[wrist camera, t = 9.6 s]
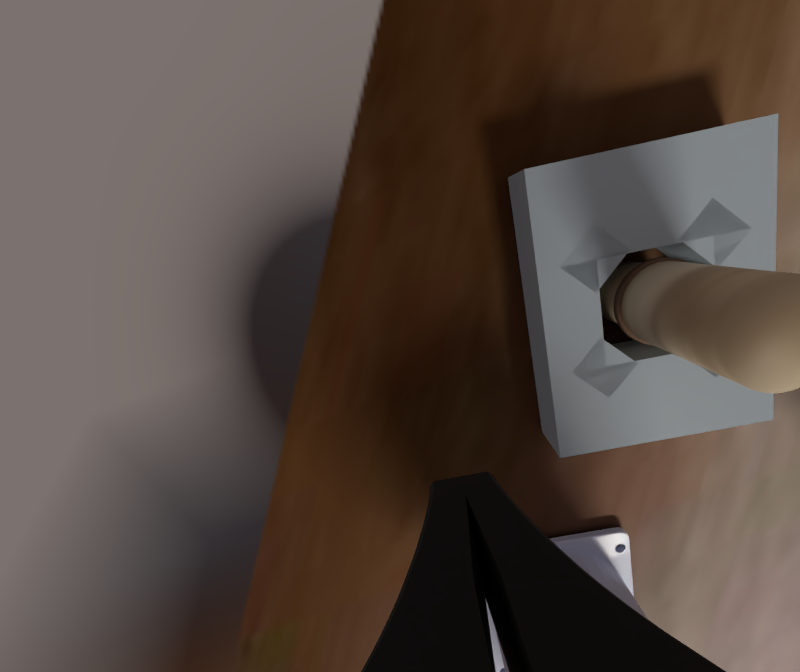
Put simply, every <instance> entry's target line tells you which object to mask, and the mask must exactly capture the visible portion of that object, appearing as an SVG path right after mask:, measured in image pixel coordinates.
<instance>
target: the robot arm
mask: <svg viewBox="0 0 800 672" xmlns="http://www.w3.org/2000/svg"><path fill="white" fill-rule="evenodd" d="M619 544H621V545H620V546H618V547H616V546H617V545H619ZM361 672H726V671H724V670H722V669H721V668H719V667H718V666H716V665H715V664H713V663H712V662H710V661H709V660H707V659H706V658H704V657H703V656H701V655H700V654H698V653H697V652H695V651H693V650H692V649H690V648H689V647H687V646H686V645H684V644H683V643H681V642H680V641H678V640H677V639H675V638H674V637H672V636H671V635H669V634H668V633H666V632H665V631H663V630H662V629H660V628H659V627H657V626H656V625H655V624H653V623H652V622H651V621H649V620H648V619H647V617H646V616H645V614H644V613H643V611H642V609H641V608H640V606H639V605H638V603H637V601H636V600H635V598H634V591H633V579H632V567H631V555H630V543H629V536H628V534H627V533H626V532H625V530H624V529H623V528H620V527H614V528H609V529H603V530H597V531H591V532H585V533H579V534H573V535H567V536H561V537H555V538H548V537H547V536H546V535H545V534H544V533H543V532H542V531H541V530H540V529H539V528H538V527H537V526H536V525H535V524H534V523H533V522H532V521H531V520H530V519H529V518H528V517H527V516H526V515H525V514H524V513H523V512H522V510H521V509H520V508H519V507H518V506H517V505H516V504H515V503H514V502H513V500H512V499H511V498H510V497H509V496H508V495H507V493H506V492H505V491H504V490H503V489H502V487H501V486H500V485H499V483H498V482H497V481H496V479H495V478H494V476H493V475H491V474H490V473H488V472H483V473H478V474H472V475H467V476H461V477H456V478H450V479H445V480H439V481H434V482H433V484H432V485H431V486H430V496H429V502H428V508H427V512H426V516H425V520H424V524H423V528H422V531H421V534H420V538H419V541H418V544H417V548H416V551H415V554H414V557H413V560H412V562H411V565H410V568H409V570H408V573H407V576H406V578H405V581H404V584H403V586H402V589H401V591H400V594H399V596H398V598H397V601H396V603H395V605H394V608H393V610H392V612H391V614H390V617H389V619H388V621H387V623H386V625H385V627H384V629H383V631H382V633H381V635H380V637H379V639H378V641H377V643H376V645H375V647H374V649H373V651H372V653H371V655H370V657H369V658H368V660H367V662H366V664H365V666H364V668H363V670H362V671H361Z"/></svg>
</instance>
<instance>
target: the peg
mask: <svg viewBox="0 0 800 672" xmlns="http://www.w3.org/2000/svg"><path fill="white" fill-rule="evenodd" d="M599 291H600V302H601V313H602V316H603V317H604V318H606V319H607V320H609V321H612V322H614V323H616V324H618V325H619V327H620V328H621V330H622V331H623V332H624V333H625V334H626V335H628V336H629V337H631V338H632V339H634V340H636V341H639V342H641V343H644V344H647V345H654V346H656V347H658V348H661V349H663V350H665V351H667V352H670V353H672V354H674V355H676V356H678V357H681V358H683V359H685V360H687V361H690V362H692V363H694V364H696V365H698V366H701V367H703V368H705V369H707V370H710V371H712V372H714V373H716V374H719V375H721V376H723V377H725V378H727V379H730V380H732V381H734V382H736V383H739V384H741V385H743V386H745V387H747V388H750V389H752V390H755V391H758V392H763V393H783V392H788V391H792V390H795V389H798V388H800V274H794V273H785V272H775V271H766V270H756V269H747V268H737V267H727V266H718V265H708V264H699V263H689V262H687V261H685V260H681V259H676V258H667V257H661V258H654V259H650V260H647V261H645V262H643V263H642V262H634V261H624V262H620V263H619V264H618V266H617V267H616V268H615V270H614V271H613V272H612V273H611V275H610V276H609V277H608V279H607V280H606V281H605V282H604V284H603V285H602V286H601V288H600V289H599Z"/></svg>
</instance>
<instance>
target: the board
mask: <svg viewBox="0 0 800 672" xmlns="http://www.w3.org/2000/svg"><path fill="white" fill-rule="evenodd" d="M777 156H778V114H774V115H769V116H765V117H760V118H756V119H751V120H746V121H742V122H737V123H733V124H728V125H724V126H719V127H714V128H710V129H705V130H701V131H696V132H692V133H687V134H683V135H678V136H673V137H669V138H664V139H660V140H655V141H651V142H646V143H641V144H637V145H632V146H628V147H623V148H619V149H614V150H609V151H605V152H600V153H596V154H591V155H587V156H582V157H577V158H573V159H568V160H564V161H559V162H555V163H550V164H546V165H541V166H536V167H532V168H527V169H524V170H522V171H520V172H518V173H516V174H514V175H512V176H510V177H508V183H509V190H510V198H511V205H512V213H513V220H514V228H515V235H516V242H517V250H518V257H519V265H520V272H521V280H522V287H523V294H524V302H525V309H526V317H527V324H528V332H529V339H530V346H531V354H532V361H533V369H534V376H535V384H536V391H537V398H538V406H539V413H540V421H541V428H542V433H543V434H544V435H545V437H546V438H547V440H548V441H549V443H550V444H551V445H552V447H553V448H554V450H555V451H556V453H557V454H558V456H559V457H560V458H563V457H568V456H574V455H580V454H585V453H591V452H596V451H602V450H608V449H613V448H619V447H624V446H630V445H635V444H641V443H647V442H652V441H658V440H663V439H669V438H675V437H680V436H686V435H691V434H697V433H702V432H708V431H714V430H719V429H725V428H730V427H736V426H742V425H747V424H753V423H758V422H764V421H769V420H773V401H774V393H763V392H758V391H755V390H752V389H750V388H747V387H745V386H743V385H741V384H739V383H736V382H734V381H732V380H730V379H727V378H725V377H723V376H721V375H719V374H716V373H714V372H712V371H710V370H707V369H705V368H703V367H701V366H698V365H696V364H694V363H692V362H690V361H687V360H685V359H683V358H681V357H678V356H676V355H674V354H672V353H670V352H667V351H665V350H663V349H661V348H658V347H656V346H654V345H647V344H644V343H641V342H639V341H636V340H631V341H626V342H621V343H616V344H609V343H608V342H606V341H605V340H604V336H603V324H602V313H601V302H600V291H599V289H600V288H601V286H602V285H603V284H604V282H605V281H606V280H607V279H608V277H609V276H610V275H611V273H612V272H613V271H614V270H615V268H616V267H617V266H618V264H619V263H620V262H621V261H622V259H623V258H624V257H625V256H626V254H627V253H632V252H637V251H642V250H647V249H651V248H657V249H658V250H659V251H661V252H662V253H663V254H665V255H666V256H667V257H669V258H676V259H681V260H685V261H687V262H689V263H699V264H708V265H718V266H727V267H737V268H747V269H756V270H766V271H775V272H776V218H777Z"/></svg>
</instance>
